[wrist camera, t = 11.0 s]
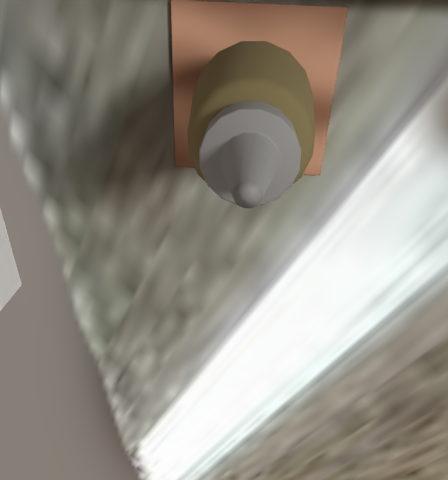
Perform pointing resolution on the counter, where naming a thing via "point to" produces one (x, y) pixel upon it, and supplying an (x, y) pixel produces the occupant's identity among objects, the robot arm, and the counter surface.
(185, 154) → the rail
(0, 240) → the robot arm
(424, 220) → the counter surface
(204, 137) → the squeeze bottle
